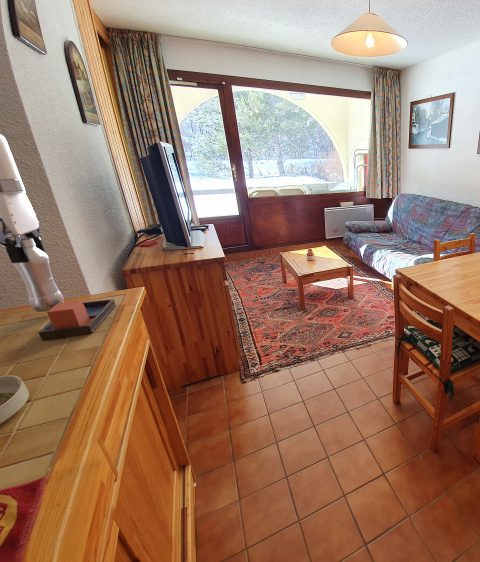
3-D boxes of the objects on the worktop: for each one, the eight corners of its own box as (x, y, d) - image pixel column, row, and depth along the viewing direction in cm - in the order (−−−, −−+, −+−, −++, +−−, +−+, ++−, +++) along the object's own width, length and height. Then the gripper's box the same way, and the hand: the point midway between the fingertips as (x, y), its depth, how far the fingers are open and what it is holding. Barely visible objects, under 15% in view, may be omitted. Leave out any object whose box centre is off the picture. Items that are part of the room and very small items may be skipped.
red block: (56, 333, 77) (46, 312, 75) (66, 323, 81) (57, 303, 79) (81, 329, 79) (72, 309, 76) (90, 320, 83) (82, 300, 81)
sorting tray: (41, 340, 75) (37, 332, 74) (74, 311, 89) (71, 303, 88) (92, 333, 79) (89, 325, 78) (116, 306, 92) (113, 298, 91)
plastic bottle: (27, 312, 84) (-4, 241, 77) (57, 302, 90) (31, 235, 83) (42, 316, 82) (11, 243, 75) (72, 306, 88) (46, 237, 81)
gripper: (5, 184, 81) (31, 250, 87) (-52, 190, 66) (-15, 270, 72) (42, 184, 83) (65, 248, 90) (-4, 190, 68) (27, 267, 75)
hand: (29, 257), depth 81 cm, fingers closed on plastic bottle, 6 cm apart
